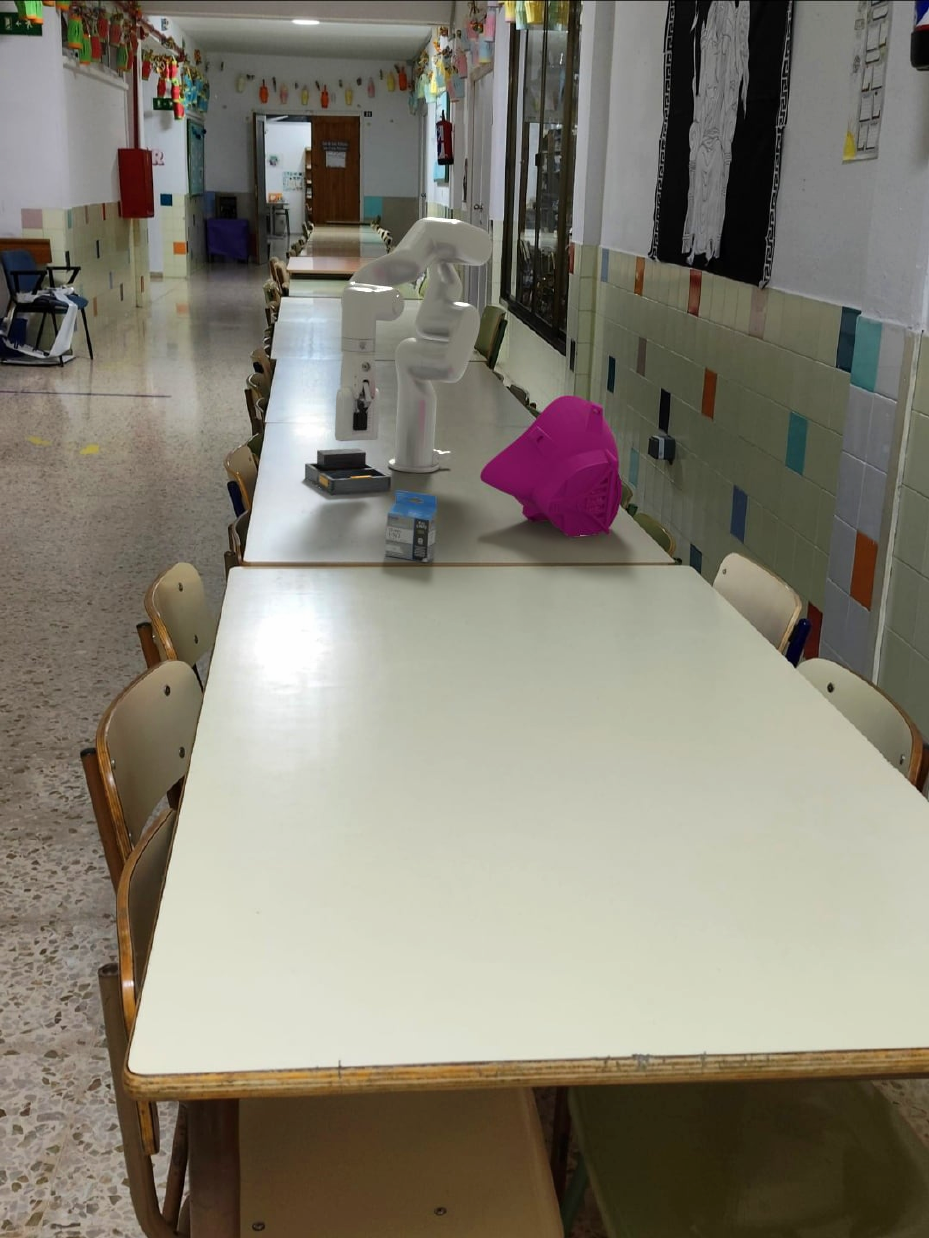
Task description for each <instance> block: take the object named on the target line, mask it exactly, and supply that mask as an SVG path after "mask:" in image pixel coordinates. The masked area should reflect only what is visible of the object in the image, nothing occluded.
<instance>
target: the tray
mask: <svg viewBox="0 0 929 1238" xmlns="http://www.w3.org/2000/svg"><path fill="white" fill-rule="evenodd" d="M366 453H367V452H366V451H364V450H362V449H361V448H358V447H357V448H342V449H341V448H339V449H324V450H323V449H320V450H319V449H318V450H317V451H316V462H311V463H305V464H304V479H305V480H307V479H308V480H309V481H308V480H307V481H308V482H310V483H311V482H312V484H313V485H315V486H316V485H317V486H316V487H318V488H319V487H320V488H319V489H321V490H322V491H324V492H325V491H326V492H325V493H327V494H328V495H330V496H343V495H345V496H347V495H361V494H372V493H373V494H374V493H375V494H376V493H389V492H391V489H392V488H391V486H392V476H391V475H389V474H387V473H385V472H383V471H382V470H380V469H378V468H376V467H375V466H374V465H371V464H370V463H368V462H366V460H367V456H366V455H367V454H366Z"/></svg>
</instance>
